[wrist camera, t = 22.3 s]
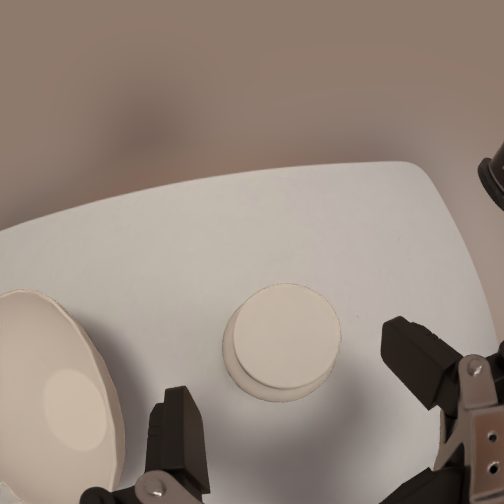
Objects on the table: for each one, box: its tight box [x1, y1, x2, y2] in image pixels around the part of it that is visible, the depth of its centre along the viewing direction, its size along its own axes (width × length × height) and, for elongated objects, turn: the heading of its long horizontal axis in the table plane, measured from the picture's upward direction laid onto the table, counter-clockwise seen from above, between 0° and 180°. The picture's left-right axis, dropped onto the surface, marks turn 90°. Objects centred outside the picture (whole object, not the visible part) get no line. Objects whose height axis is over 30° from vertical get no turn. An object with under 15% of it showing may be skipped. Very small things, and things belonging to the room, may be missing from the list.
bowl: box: [0, 289, 126, 504], centre depth 12 cm, size 16×16×7 cm
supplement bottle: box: [222, 284, 341, 402], centre depth 14 cm, size 5×5×10 cm
